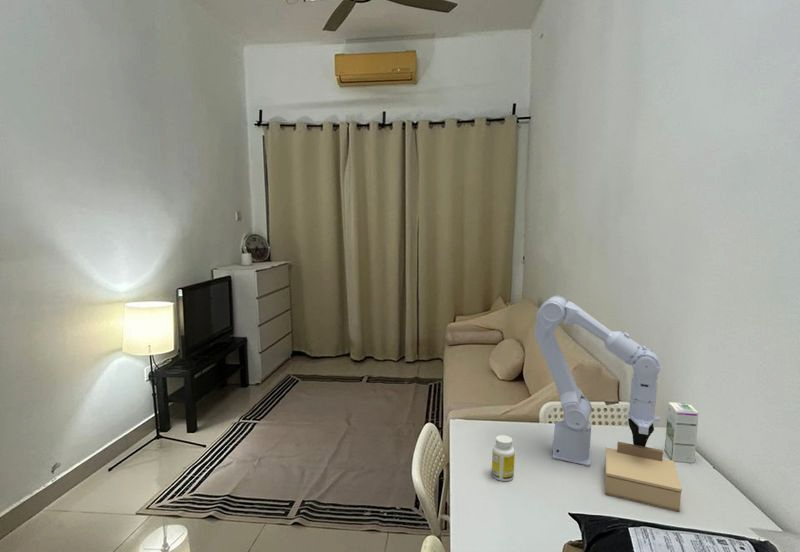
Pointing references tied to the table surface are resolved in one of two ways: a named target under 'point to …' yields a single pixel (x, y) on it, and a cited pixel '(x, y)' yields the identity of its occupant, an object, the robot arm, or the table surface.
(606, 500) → the table surface
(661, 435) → the table surface
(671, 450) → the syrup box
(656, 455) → the lid
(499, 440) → the supplement bottle
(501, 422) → the table surface
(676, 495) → the box
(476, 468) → the table surface
